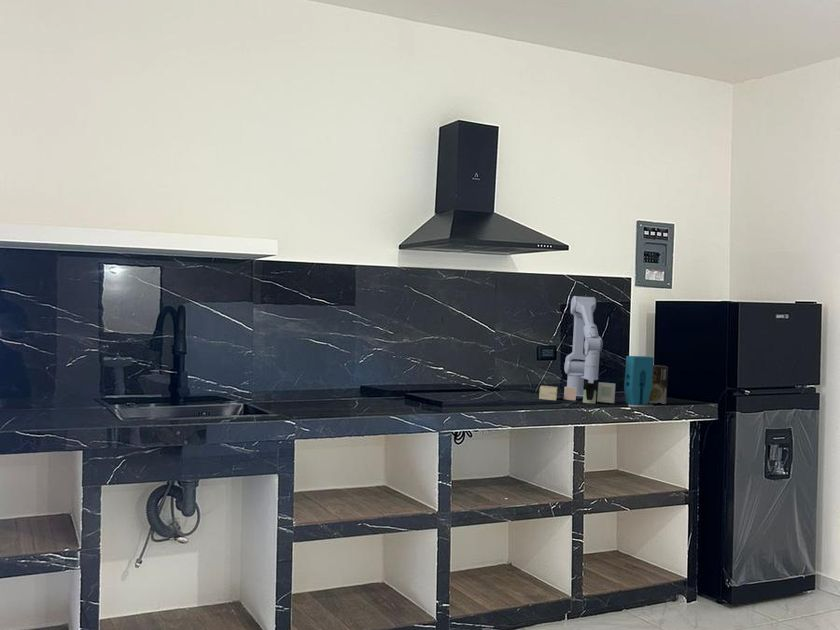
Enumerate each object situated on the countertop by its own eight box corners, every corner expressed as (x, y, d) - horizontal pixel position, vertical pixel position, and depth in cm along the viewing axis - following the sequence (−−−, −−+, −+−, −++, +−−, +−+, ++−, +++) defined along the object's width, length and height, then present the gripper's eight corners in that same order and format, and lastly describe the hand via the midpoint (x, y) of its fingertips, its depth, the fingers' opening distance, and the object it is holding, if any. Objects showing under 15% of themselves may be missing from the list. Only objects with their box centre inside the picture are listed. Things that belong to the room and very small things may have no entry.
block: (642, 402, 376) (646, 356, 375) (651, 404, 371) (654, 357, 371) (621, 403, 370) (625, 355, 369) (630, 404, 365) (633, 357, 365)
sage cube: (582, 401, 367) (583, 389, 367) (595, 402, 366) (595, 390, 366) (583, 402, 362) (583, 390, 362) (595, 403, 361) (596, 391, 361)
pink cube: (563, 398, 374) (564, 386, 374) (575, 399, 373) (576, 387, 373) (563, 399, 369) (564, 387, 369) (575, 400, 369) (576, 388, 368)
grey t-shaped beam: (597, 400, 372) (598, 381, 372) (613, 402, 371) (615, 383, 371) (597, 401, 368) (598, 382, 368) (614, 403, 367) (615, 384, 367)
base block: (540, 397, 372) (540, 385, 372) (556, 398, 371) (557, 387, 371) (539, 399, 365) (539, 387, 365) (555, 400, 364) (556, 388, 364)
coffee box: (663, 402, 382) (666, 365, 381) (666, 404, 375) (668, 367, 375) (642, 401, 383) (644, 364, 382) (644, 402, 376) (647, 365, 376)
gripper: (581, 364, 372) (579, 396, 372) (582, 367, 357) (579, 400, 358) (598, 365, 370) (596, 397, 371) (599, 368, 356) (597, 401, 356)
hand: (589, 399), depth 364 cm, fingers open, 6 cm apart
